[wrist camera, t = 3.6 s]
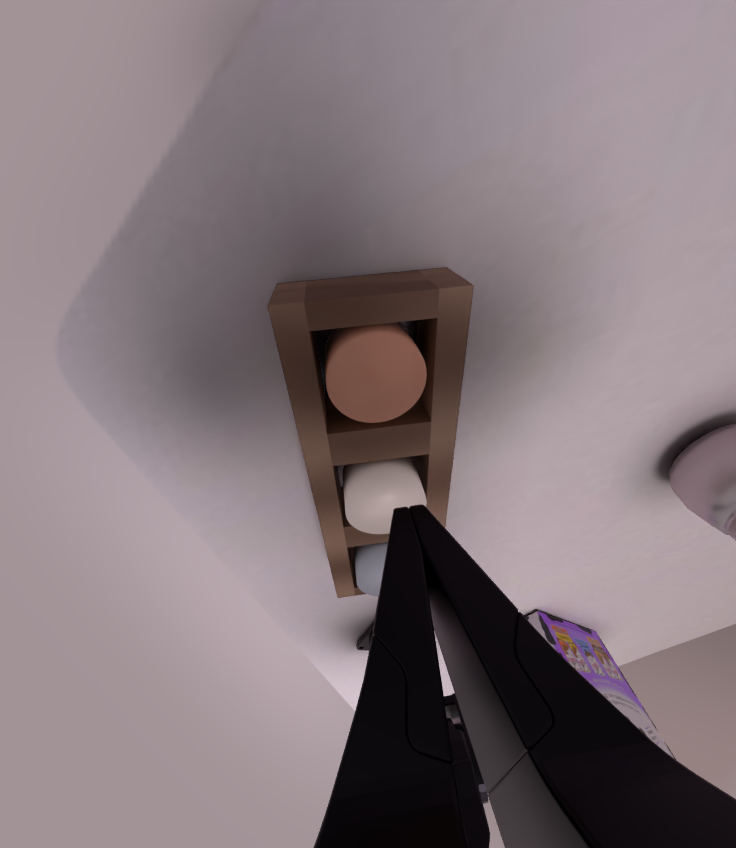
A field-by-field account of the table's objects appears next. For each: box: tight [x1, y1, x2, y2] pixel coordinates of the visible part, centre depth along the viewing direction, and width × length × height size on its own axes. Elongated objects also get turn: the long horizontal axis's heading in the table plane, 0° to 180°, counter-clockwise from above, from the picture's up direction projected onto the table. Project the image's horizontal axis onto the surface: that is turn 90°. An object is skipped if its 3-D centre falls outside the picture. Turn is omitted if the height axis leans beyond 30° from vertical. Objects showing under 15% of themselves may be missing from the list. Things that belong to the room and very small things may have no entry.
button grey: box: [354, 542, 388, 596], centre depth 21 cm, size 4×4×2 cm
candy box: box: [525, 611, 676, 760], centre depth 32 cm, size 14×6×16 cm, turn 51°
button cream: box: [342, 456, 427, 534], centre depth 17 cm, size 4×4×2 cm
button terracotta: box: [325, 322, 427, 423], centre depth 14 cm, size 4×4×2 cm
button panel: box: [268, 267, 474, 598], centre depth 18 cm, size 20×7×3 cm, turn 4°
